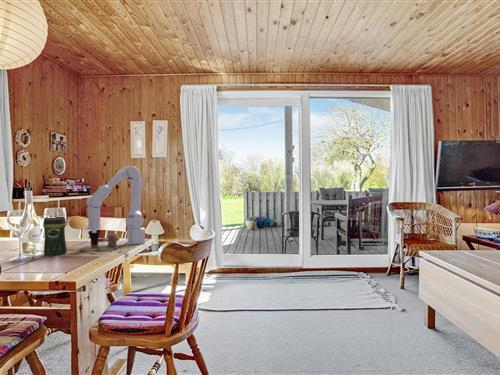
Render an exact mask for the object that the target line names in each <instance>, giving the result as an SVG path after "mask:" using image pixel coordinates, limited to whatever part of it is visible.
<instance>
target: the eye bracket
mask: <svg viewBox="0 0 500 375" xmlns="http://www.w3.org/2000/svg"><path fill="white" fill-rule="evenodd" d="M117 237H118V236H117V233H114V232H113V233H107V238H108V241H107V244H98V247H97V248H91V245H84V246H83V245H82V247H81V253H89V252H100V251H112V250H113V251H115V250H119V247H118V241H117Z"/></svg>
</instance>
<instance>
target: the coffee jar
mask: <svg viewBox="0 0 500 375" xmlns="http://www.w3.org/2000/svg"><path fill="white" fill-rule="evenodd" d="M48 217H49V216H47V217H44V219H43V223H42V226H43V229H44V244H43V255H44V256H49V257H51V256H61V255H63V254H66V253H67V251H68V249H67V241H66V235H65V234H66V232H65V231H66V230H65V228H66V226H67V221H66V217H65V216H64V217H56V218H48Z"/></svg>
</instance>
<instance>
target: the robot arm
mask: <svg viewBox="0 0 500 375" xmlns="http://www.w3.org/2000/svg"><path fill="white" fill-rule="evenodd" d="M140 171H141V170H140V169H139V168H137V166H135V165H130V166H129V165H125V166H122V167H121V169H119V170H117V172H116V174H115V175H113V176H112V178H111V179H110V180H109V181H108V182H107V184H103V185H99V186H98V189H97V190H96V191H95V192H93V193H92V194H91V195H92V196H88V198H87V200H86V201H85V204H86V205H87V207H88V208H87V214H88V215H87V223H88V226H87V227H85V230H89V231H88V232H87V233H88V235H89V238H90V243H91V242H92V246H95V245H97V242H98V239H99V237H100V235H101V230H100V229H101V228H102V227H101V206H102V204H103V201H104V200H105V199H107V197H108V196H109V195H110V194H111V193H112V189H113V188H114V187H115V186H116V185H117V184H118V183H120V182H121V181H122V180H124V179H127V180H128V181H129V182H130V183H131V192H130V193H131V196H130V206H129V211H128V213H127V215H126V218H125V224H126V225H127V241H126V244H127V245H128V246H129V245H141V244H142V245H143V244H146V228H145V227H142V226H143V224H144V220H143V214H142V212H141V200H142V190H143V179H142V176H141V174H140ZM98 243H99V242H98Z"/></svg>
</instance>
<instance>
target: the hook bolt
mask: <svg viewBox="0 0 500 375" xmlns="http://www.w3.org/2000/svg"><path fill="white" fill-rule="evenodd" d="M119 241H120V237H118V236H117V242H119ZM104 242H107V243H108V237H106V238H104V237H101V238H98V242H97V245H95V246H92V242H91V241H90V246H91V248H97V247H98V245H99V243H104Z"/></svg>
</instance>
